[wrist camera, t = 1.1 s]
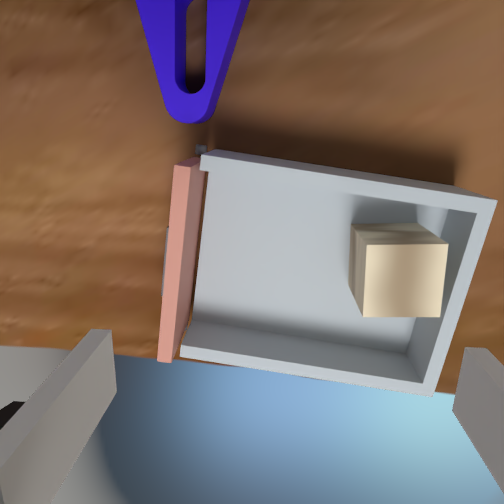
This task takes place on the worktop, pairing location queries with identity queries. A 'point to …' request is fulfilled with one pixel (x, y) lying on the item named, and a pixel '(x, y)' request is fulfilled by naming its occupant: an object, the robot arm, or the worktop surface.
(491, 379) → the robot arm
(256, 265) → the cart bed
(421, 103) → the worktop surface
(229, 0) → the bracket
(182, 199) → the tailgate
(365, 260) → the beige block
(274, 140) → the worktop surface
